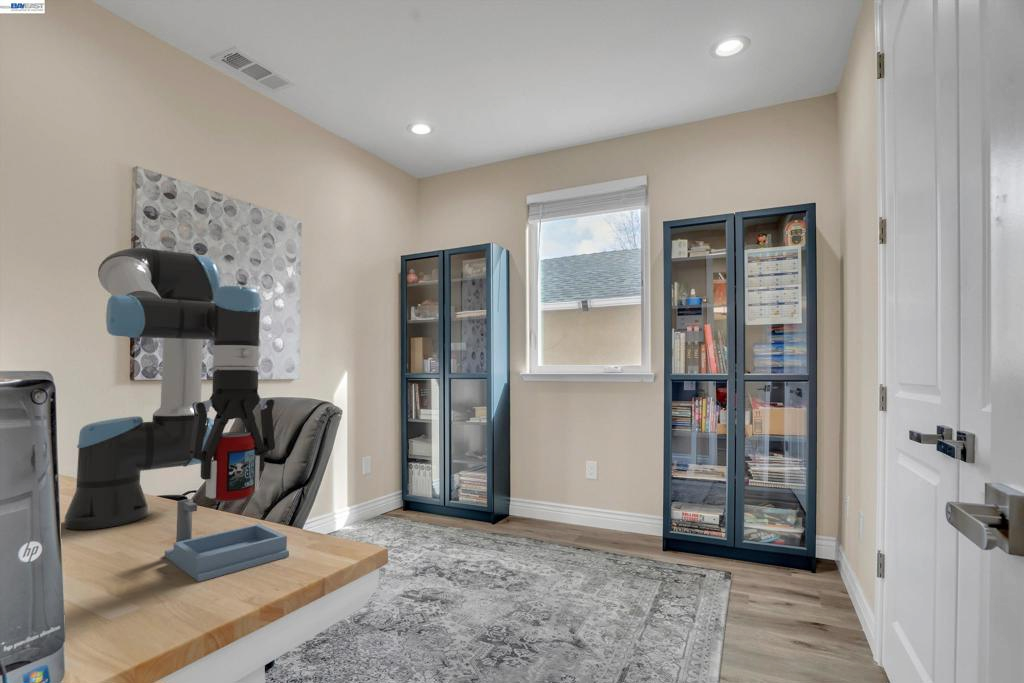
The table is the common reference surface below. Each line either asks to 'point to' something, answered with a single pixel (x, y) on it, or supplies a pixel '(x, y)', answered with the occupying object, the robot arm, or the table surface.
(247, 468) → the beverage can
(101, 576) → the table surface
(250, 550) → the light blue hollow tray
